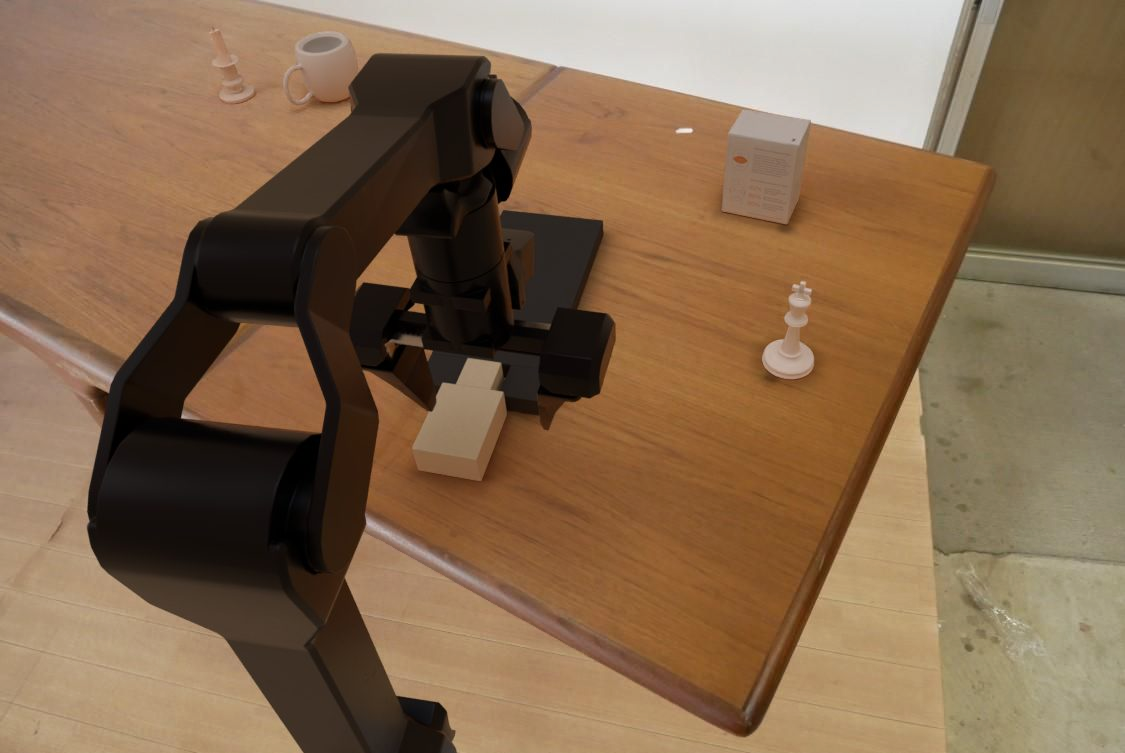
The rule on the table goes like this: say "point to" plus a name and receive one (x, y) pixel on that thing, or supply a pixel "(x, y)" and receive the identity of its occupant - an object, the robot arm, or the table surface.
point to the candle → (229, 72)
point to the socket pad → (536, 298)
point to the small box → (764, 165)
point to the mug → (324, 66)
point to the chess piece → (791, 340)
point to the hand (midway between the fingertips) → (489, 416)
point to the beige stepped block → (463, 423)
